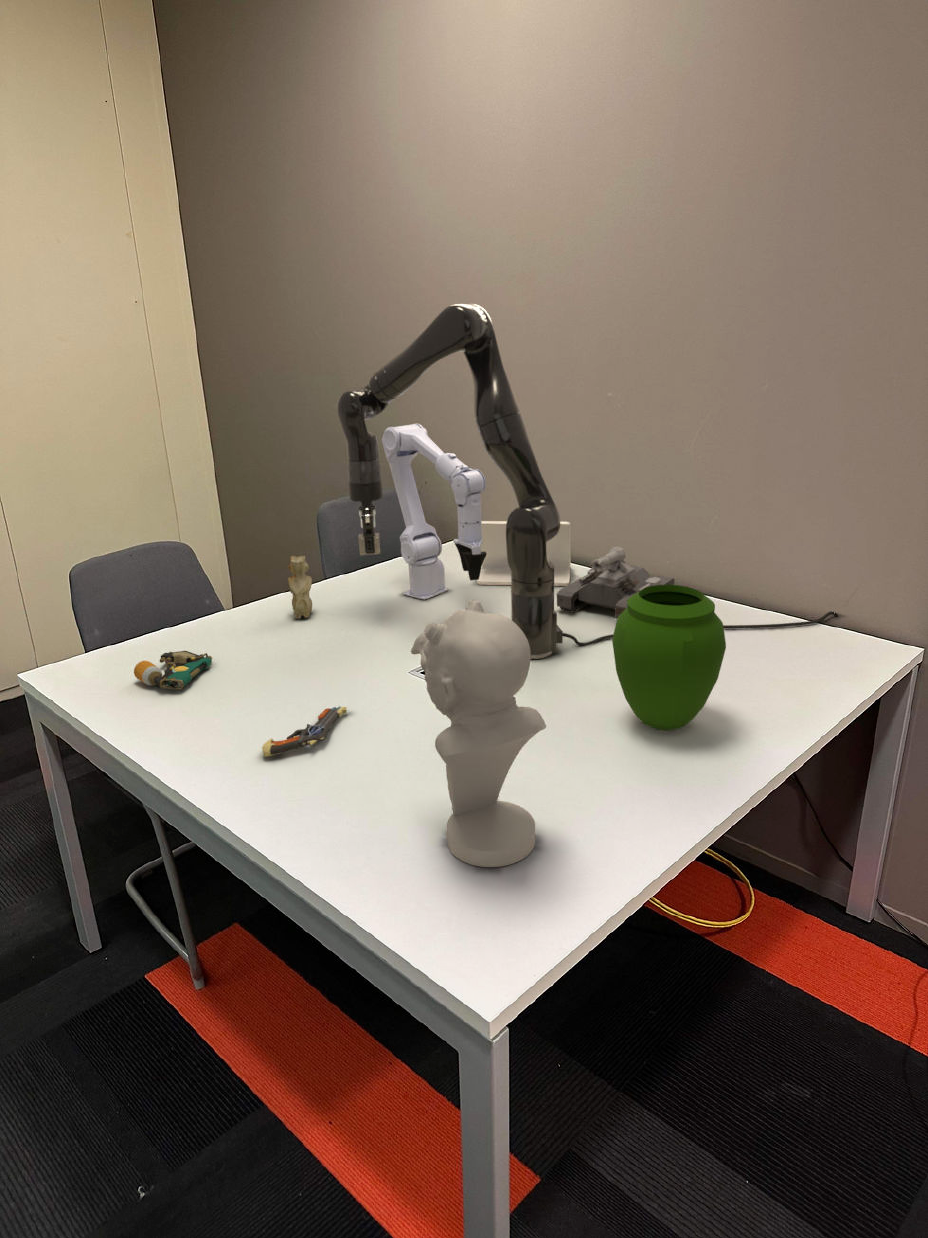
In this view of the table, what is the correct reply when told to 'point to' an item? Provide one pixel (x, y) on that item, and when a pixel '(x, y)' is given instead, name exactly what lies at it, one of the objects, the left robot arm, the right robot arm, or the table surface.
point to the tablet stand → (496, 557)
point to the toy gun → (305, 733)
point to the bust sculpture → (481, 729)
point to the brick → (362, 544)
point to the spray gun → (172, 669)
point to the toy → (608, 584)
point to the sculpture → (300, 587)
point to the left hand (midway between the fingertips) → (471, 574)
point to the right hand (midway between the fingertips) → (370, 550)
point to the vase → (668, 654)
